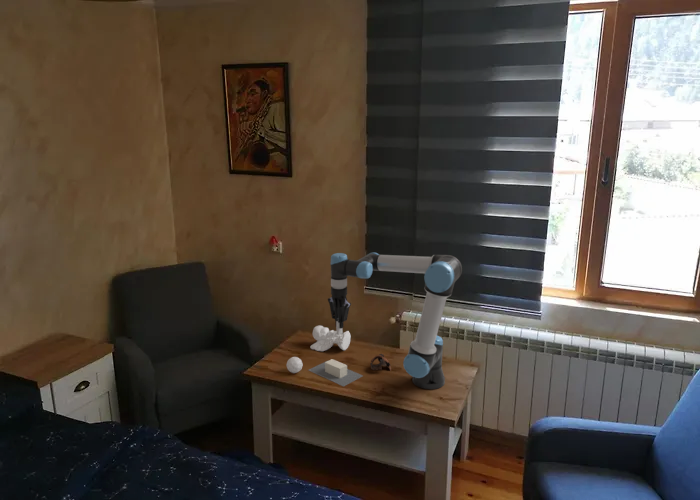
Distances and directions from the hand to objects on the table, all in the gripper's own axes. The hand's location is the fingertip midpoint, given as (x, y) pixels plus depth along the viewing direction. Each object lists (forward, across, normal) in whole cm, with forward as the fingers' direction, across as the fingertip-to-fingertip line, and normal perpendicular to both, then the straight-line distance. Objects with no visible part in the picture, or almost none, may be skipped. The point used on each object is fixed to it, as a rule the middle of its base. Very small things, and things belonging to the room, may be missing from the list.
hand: (339, 333), depth 257 cm
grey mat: (+21, +2, +1) cm, 22 cm away
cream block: (+19, -3, +1) cm, 19 cm away
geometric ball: (+22, +19, +12) cm, 31 cm away
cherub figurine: (+22, +25, -19) cm, 38 cm away
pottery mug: (+22, -11, -18) cm, 31 cm away
